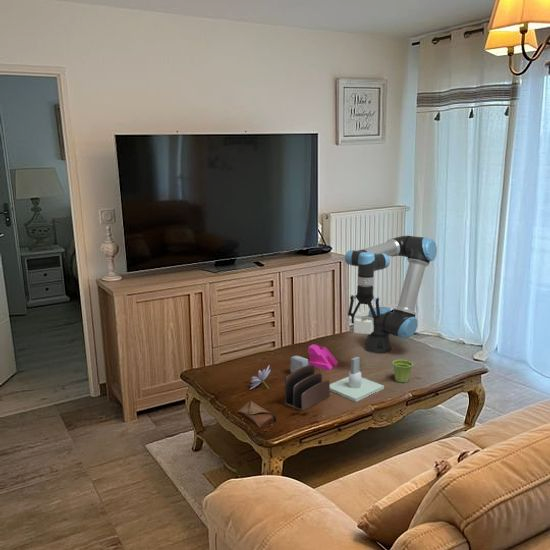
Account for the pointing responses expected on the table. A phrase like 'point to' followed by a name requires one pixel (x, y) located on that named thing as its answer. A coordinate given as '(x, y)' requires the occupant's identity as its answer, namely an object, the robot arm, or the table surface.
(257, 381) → the water lily
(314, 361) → the bracket
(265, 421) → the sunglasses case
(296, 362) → the medicine box
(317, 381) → the letter holder
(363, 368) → the table surface
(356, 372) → the shaft stand
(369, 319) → the slotted block
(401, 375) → the plant pot
